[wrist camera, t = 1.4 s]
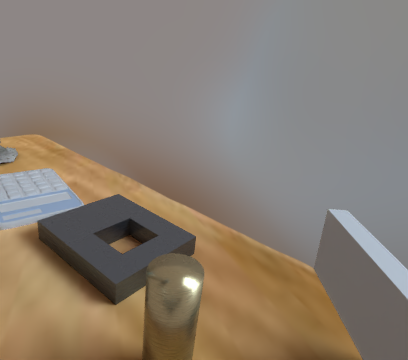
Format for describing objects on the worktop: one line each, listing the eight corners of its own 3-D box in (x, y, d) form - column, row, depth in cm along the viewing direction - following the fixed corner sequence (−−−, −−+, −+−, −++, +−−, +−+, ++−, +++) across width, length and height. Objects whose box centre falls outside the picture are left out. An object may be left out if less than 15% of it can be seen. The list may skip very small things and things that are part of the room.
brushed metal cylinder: (130, 377, 27) (134, 270, 23) (165, 345, 31) (174, 246, 26) (165, 413, 25) (177, 301, 20) (199, 374, 28) (215, 271, 24)
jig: (39, 238, 44) (37, 220, 43) (118, 209, 55) (118, 194, 54) (115, 304, 35) (115, 284, 33) (193, 253, 45) (196, 236, 44)
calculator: (52, 174, 67) (51, 166, 66) (87, 213, 53) (86, 203, 52) (-22, 185, 58) (-24, 175, 58) (-3, 235, 45) (-5, 224, 44)
